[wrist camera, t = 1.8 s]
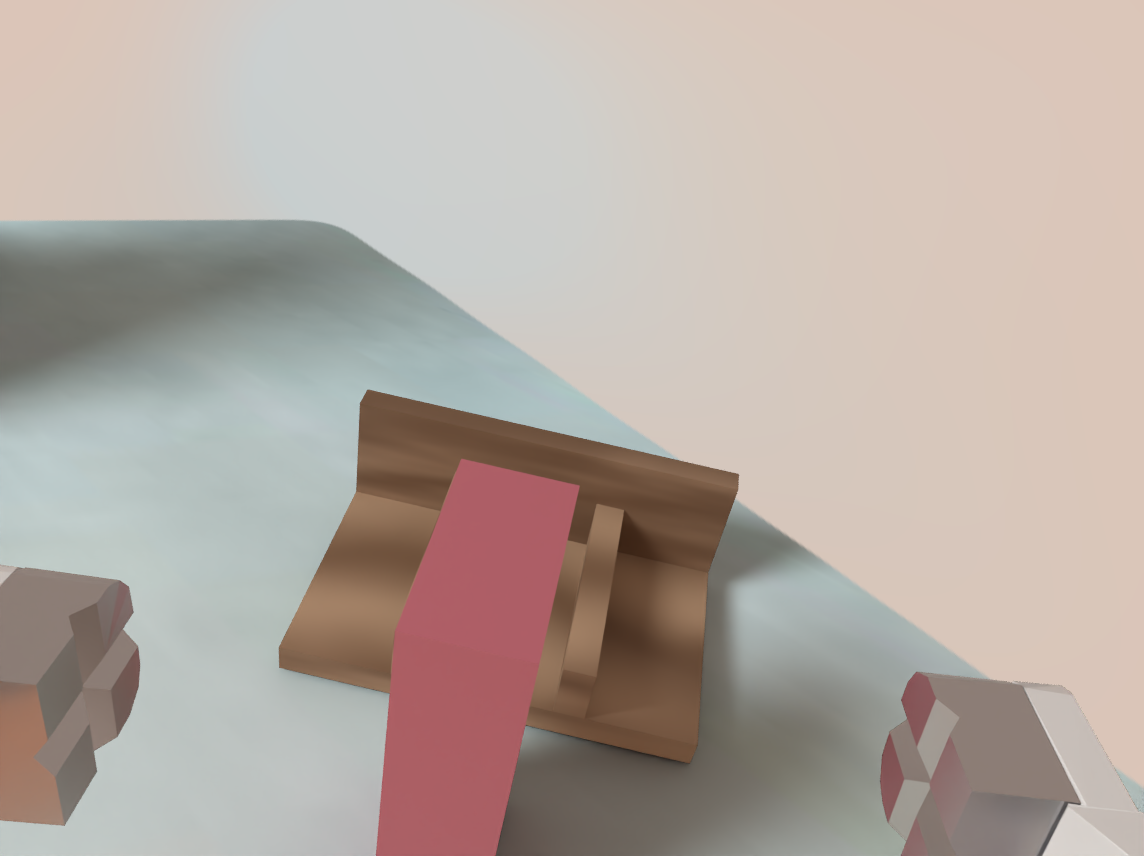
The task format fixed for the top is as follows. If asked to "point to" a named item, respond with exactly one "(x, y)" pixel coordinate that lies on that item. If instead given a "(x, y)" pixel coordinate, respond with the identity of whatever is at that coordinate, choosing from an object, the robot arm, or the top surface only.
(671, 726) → the book rack
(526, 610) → the red rectangular block
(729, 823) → the top surface
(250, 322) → the top surface
